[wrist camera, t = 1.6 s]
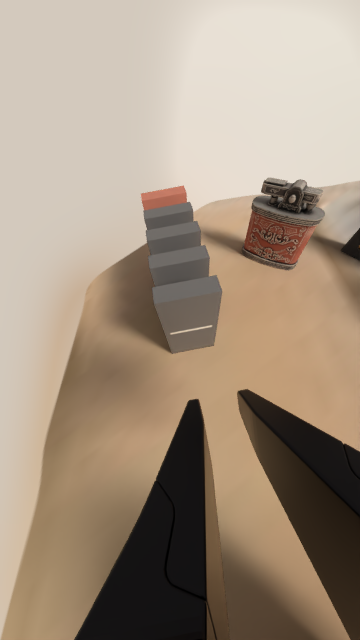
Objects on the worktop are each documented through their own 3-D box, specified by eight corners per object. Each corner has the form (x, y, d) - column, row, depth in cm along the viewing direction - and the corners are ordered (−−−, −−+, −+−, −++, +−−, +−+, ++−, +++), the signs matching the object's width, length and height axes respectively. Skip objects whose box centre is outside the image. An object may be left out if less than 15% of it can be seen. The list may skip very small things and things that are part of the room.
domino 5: (213, 345, 22) (222, 291, 14) (172, 353, 22) (153, 304, 14) (210, 333, 23) (216, 275, 14) (170, 341, 23) (152, 287, 14)
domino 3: (200, 297, 26) (200, 230, 17) (164, 304, 26) (146, 241, 17) (198, 288, 27) (196, 220, 18) (163, 295, 27) (145, 230, 18)
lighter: (299, 259, 28) (343, 182, 19) (291, 274, 27) (334, 198, 18) (247, 242, 31) (265, 169, 22) (237, 255, 29) (252, 182, 21)
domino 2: (195, 278, 28) (193, 210, 19) (161, 285, 28) (144, 219, 19) (193, 270, 29) (189, 201, 20) (160, 277, 29) (143, 210, 20)
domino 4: (206, 319, 24) (209, 257, 15) (167, 327, 24) (149, 269, 15) (203, 309, 25) (205, 245, 16) (166, 316, 25) (147, 255, 16)
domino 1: (190, 261, 30) (186, 192, 21) (158, 267, 30) (141, 201, 21) (188, 255, 30) (183, 185, 22) (157, 260, 30) (141, 193, 22)
